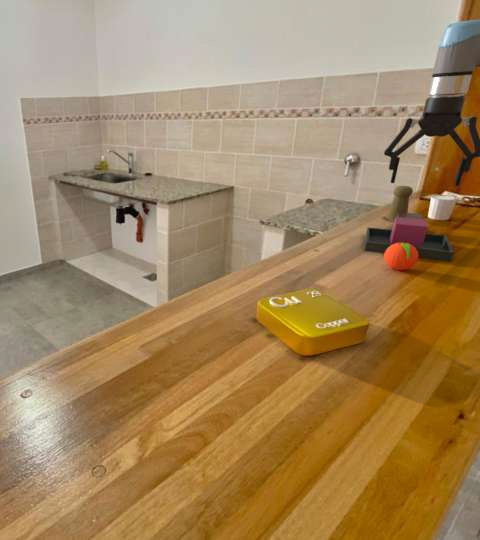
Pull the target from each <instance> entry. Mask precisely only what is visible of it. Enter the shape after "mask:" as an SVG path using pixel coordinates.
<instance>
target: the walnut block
mask: <svg viewBox="0 0 480 540" xmlns="http://www.w3.org/2000/svg"><path fill="white" fill-rule="evenodd" d="M396 217H401V218H413V219H423V217H422V214H421V213H413V212H412V213H411V212H408V213H402V212H398V213H397V216H396Z"/></svg>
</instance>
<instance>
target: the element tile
mask: <svg viewBox="0 0 480 540" xmlns="http://www.w3.org/2000/svg"><path fill="white" fill-rule="evenodd" d="M255 318H256V321H257V322H258V323H260V325H262V326H263V327H264V328H265V329H266V330H268V331H269V332H270V333H271V334H272V335H274V336H275V337H276V338H277V339H278V340H280V341H281V342H282V343H283V344H285V345H286V346H287V347H288V348H289V349H291V350H292V351H293V352H294V353H295V354H298V355H300V356H304V357H312V356H317V355H320V354H324V353H328V352H332V351H335V350H338V349H344V348H346V347H350V346H351V347H352V346H354V345H359V344H362V343H364V342H365V341H366V338H367V335H368V331H369V327H370V320H369V318H368V317H367V316H365V315H363V314H361V313H360V312H358V311H356V310H355V309H353V308H352V307H349V306H348V305H346V304H345V303H342V302H341V301H338V300H337V299H335V298H334V297H332V296H330V294H329V295H328V294H327V293H325V292H324V291H321V290H319V289H317V288H305V289H300V290H295V291H290V292H287V293H280V294H276V295H272V296H267V297H263V298H260V299H258V301H257V306H256V316H255Z"/></svg>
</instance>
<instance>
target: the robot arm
mask: <svg viewBox="0 0 480 540" xmlns="http://www.w3.org/2000/svg"><path fill="white" fill-rule="evenodd" d="M437 48H438V49H437V53H436V58H435V61H434V66H433V70H432V75H431V79H430V83H429V86H428V91H427V96H429V97H427V98H426V99H425V102H424V106H423V110H422V114H421V116H420V118H412V117H408V118H406V119H405V121H404V125H403V127H402V129H401V130H400V131H399V132H398V133H397V135H396V136H395V137H394V139H393V140H392V141H391V142H390V143H389V144H388V146H387V147H386V148H385V150H384V152H383V154H384V156H387V157H389V158H390V159H389V164H388V170H389V171H392V174H391V178H390V184H395V183H396V177H397V172H398V169H399V164H400V160H401V157H400V155H401V154H402V153H404V152H405V151H406V150H408V148H410V147H412V146H413V144H415V143H416V142H418V141H419V140H421V138H423V137H424V136H426V137H428V138H429V137H430V138H431V137H440V138H441V137H446V136H448V135H449V137H450V138H451V139H452V141H453V142H454V144H455V145H456V146H457V148H458V149H459V150H460V151H461V152H462V154H463V156H465V157H461V158H460V161H459V164H458V167H457V170H456V174H455V177H454V181H453V185H454V186H456V187H459V186H460V184H461V180H462V177H463V173H469V171H470V169H471V165H472V162H473V160H474V159H475V158H480V135H479V133H478V129H477V121H478V118H477V117H476V116H474V115H470V116H468V117H462V112H463V108H464V105H465V101H466V96H464V95H465V94H467V93H468V92H469V87H470V84H471V80H472V77H473V76H472V75H473V73H474V71H475V68H480V19H470V20H463V21H456V22H452V23H449V24H448V25H446V26H445V28H444V29H443V32H442V34H441V37H440V41H439V43H438V46H437ZM460 124H463V126H464V127H466V128H467V131H468V134H469V137H470V140H471V143H472V147H473V150H474V151H471V150H470V149H469V147H468V146H467V145H466V143H465V142H464V140H462V138H461V137H460V135H459V134H458V133H457V131H456V130H455V129H456V128H457V127H458V126H460ZM416 125H418V127H419V128H420V129H419V130H418V131H417V132H416V133H415V134H414V135H413V136H411V137H410V138H409V139H408V140H406V141H405V142H404V143H403V144H402V145H400V146H399V147H398V148H397V149H396V150H394V149H395V148H396V147H397V145H399V143H400V141H402V140H403V138H404V137H405V135H406V134H407V133H408V132H409V130H410V129H411V128H414V127H415V126H416Z"/></svg>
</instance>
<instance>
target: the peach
mask: <svg viewBox="0 0 480 540" xmlns="http://www.w3.org/2000/svg"><path fill="white" fill-rule="evenodd" d="M383 255H384V256H383V258H384V262H385V264H386V265H387V266H388V267H389V268H391V269H393V270H395V271H405V270H409V269H411V268H413V267H414V266H415V265H416V264H417V262H418V260H419V257H418V256H419V255H418V251H417V250H416V248H415V247H414V246H412V245H411V244H408V243H405V242H404V243H403V242H399V243H395V244H393V245H391V246H390V247H388V249H387V250H386V252H385V253H383Z"/></svg>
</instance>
